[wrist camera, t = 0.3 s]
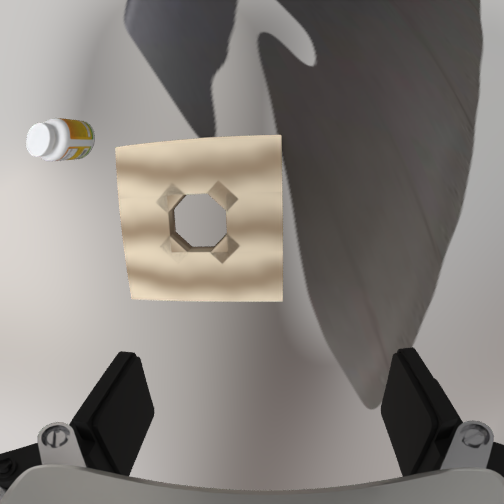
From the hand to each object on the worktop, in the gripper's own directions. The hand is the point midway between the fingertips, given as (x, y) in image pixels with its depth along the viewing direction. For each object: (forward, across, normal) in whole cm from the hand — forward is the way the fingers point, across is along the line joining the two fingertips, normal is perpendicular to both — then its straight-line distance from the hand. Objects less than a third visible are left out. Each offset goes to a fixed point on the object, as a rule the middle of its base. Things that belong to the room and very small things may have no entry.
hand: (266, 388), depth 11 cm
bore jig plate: (+31, +8, -1) cm, 32 cm away
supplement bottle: (+31, +25, -13) cm, 42 cm away
